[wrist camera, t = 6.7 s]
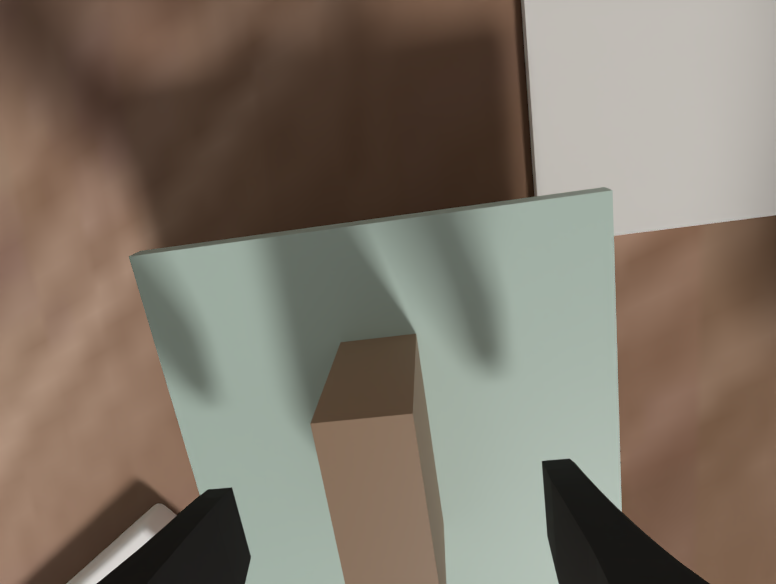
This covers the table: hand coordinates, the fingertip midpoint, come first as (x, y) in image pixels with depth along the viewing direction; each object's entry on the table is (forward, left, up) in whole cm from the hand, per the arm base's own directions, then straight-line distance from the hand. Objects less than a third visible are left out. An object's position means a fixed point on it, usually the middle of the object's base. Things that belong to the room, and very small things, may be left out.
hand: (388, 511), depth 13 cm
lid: (0, 0, -3) cm, 3 cm away
